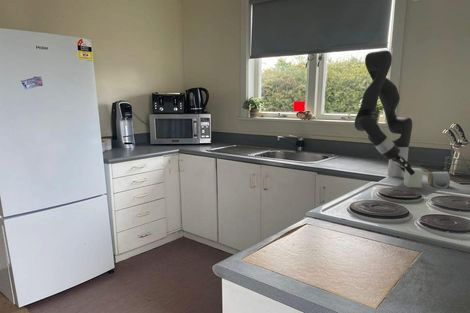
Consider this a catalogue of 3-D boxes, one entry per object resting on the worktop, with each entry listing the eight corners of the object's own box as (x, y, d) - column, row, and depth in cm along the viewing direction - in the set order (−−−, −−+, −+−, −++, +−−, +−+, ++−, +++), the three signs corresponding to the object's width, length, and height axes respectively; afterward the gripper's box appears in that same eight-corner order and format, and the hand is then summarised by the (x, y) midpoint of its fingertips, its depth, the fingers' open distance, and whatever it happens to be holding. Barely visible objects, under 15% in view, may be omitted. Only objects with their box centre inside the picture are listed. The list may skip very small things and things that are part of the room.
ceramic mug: (426, 184, 168) (427, 169, 166) (444, 185, 166) (445, 170, 164) (432, 189, 158) (434, 173, 156) (452, 190, 156) (454, 174, 154)
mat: (405, 183, 167) (405, 182, 167) (440, 189, 156) (440, 188, 156) (389, 189, 154) (389, 188, 154) (426, 197, 142) (426, 195, 142)
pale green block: (408, 187, 158) (410, 169, 156) (403, 184, 164) (405, 167, 162) (421, 187, 157) (423, 170, 156) (416, 184, 163) (417, 167, 162)
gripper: (398, 144, 151) (422, 169, 152) (388, 141, 165) (409, 164, 166) (385, 155, 153) (409, 180, 153) (376, 151, 167) (397, 174, 167)
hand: (409, 172), depth 159 cm, fingers open, 8 cm apart
